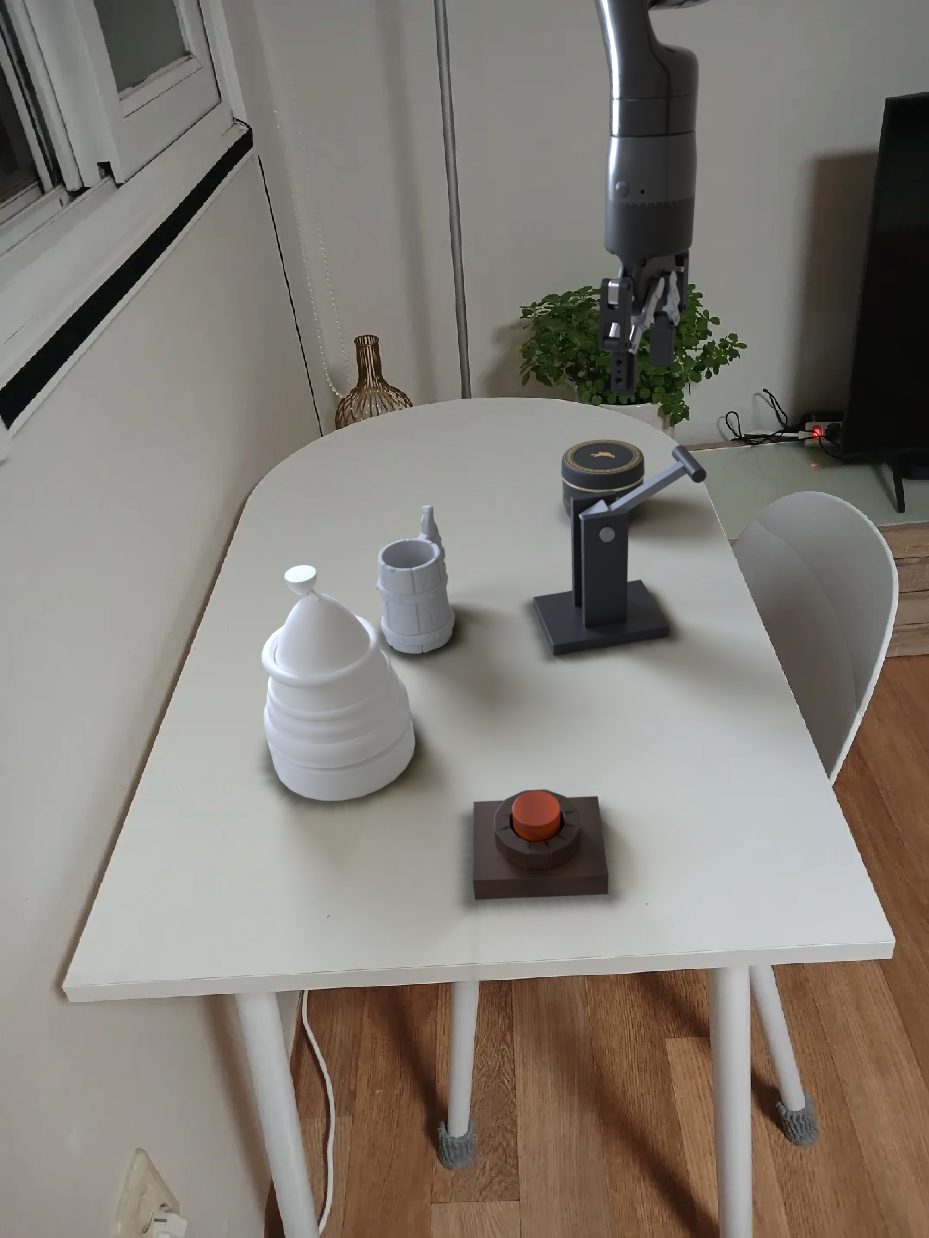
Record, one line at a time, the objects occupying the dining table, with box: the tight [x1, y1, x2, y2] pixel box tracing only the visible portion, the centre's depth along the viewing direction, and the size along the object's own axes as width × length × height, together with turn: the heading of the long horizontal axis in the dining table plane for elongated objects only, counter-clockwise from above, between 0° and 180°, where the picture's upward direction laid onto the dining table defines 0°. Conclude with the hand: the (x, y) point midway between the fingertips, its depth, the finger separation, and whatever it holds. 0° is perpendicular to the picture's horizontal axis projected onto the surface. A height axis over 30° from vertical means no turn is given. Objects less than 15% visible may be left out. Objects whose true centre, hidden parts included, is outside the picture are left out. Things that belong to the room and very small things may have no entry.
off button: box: [512, 791, 561, 842], centre depth 72 cm, size 4×4×2 cm
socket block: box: [472, 788, 609, 901], centre depth 73 cm, size 10×8×4 cm
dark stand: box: [532, 490, 670, 656], centre depth 96 cm, size 12×9×14 cm
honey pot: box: [261, 564, 416, 802], centre depth 81 cm, size 13×13×18 cm
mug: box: [376, 505, 456, 655], centre depth 98 cm, size 8×12×12 cm, turn 162°
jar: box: [560, 439, 646, 523], centre depth 116 cm, size 10×10×8 cm
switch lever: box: [579, 444, 708, 519], centre depth 92 cm, size 12×6×2 cm, turn 101°
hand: (642, 378), depth 89 cm, fingers open, 8 cm apart
